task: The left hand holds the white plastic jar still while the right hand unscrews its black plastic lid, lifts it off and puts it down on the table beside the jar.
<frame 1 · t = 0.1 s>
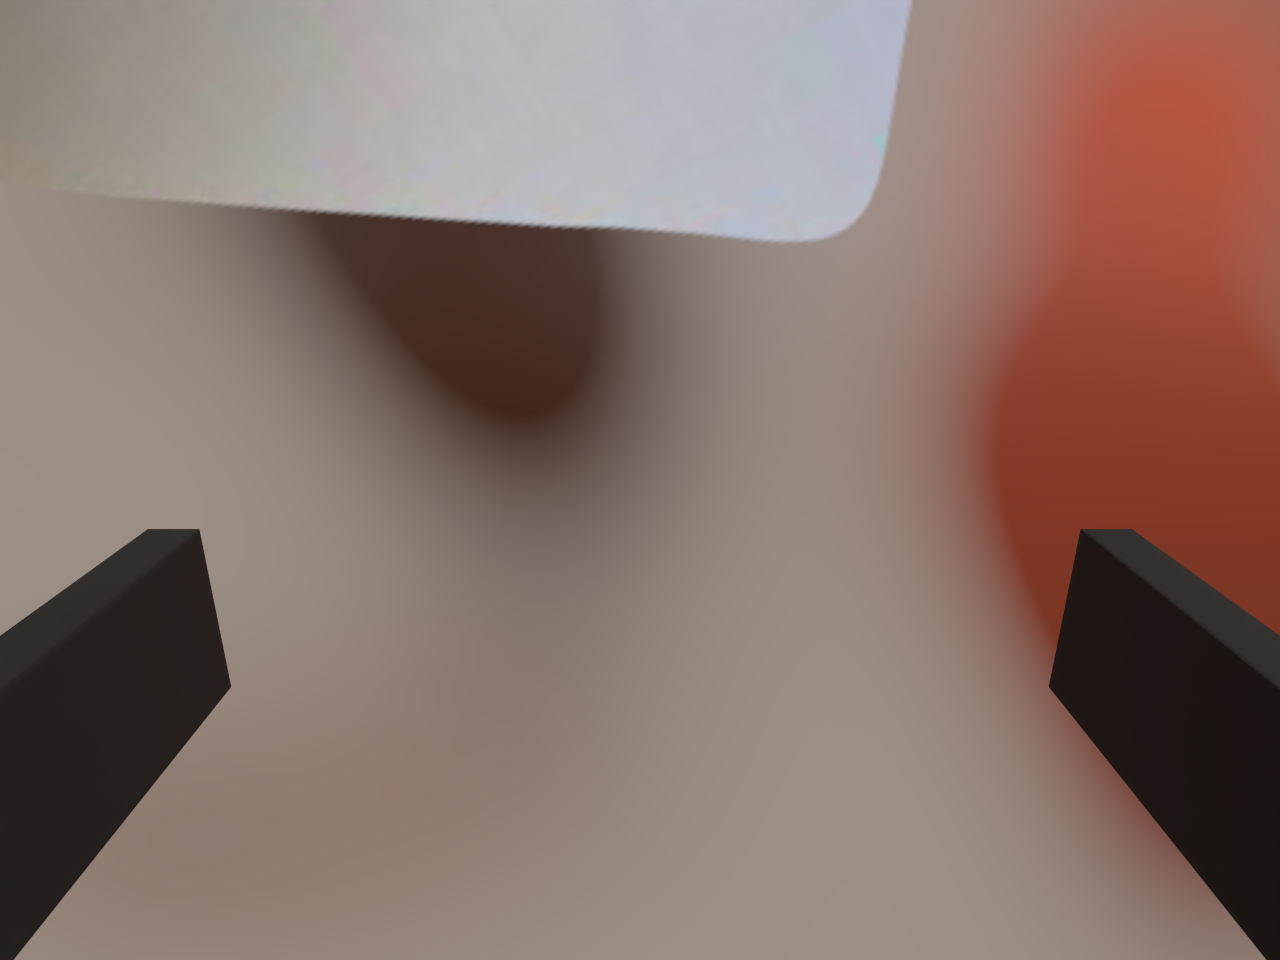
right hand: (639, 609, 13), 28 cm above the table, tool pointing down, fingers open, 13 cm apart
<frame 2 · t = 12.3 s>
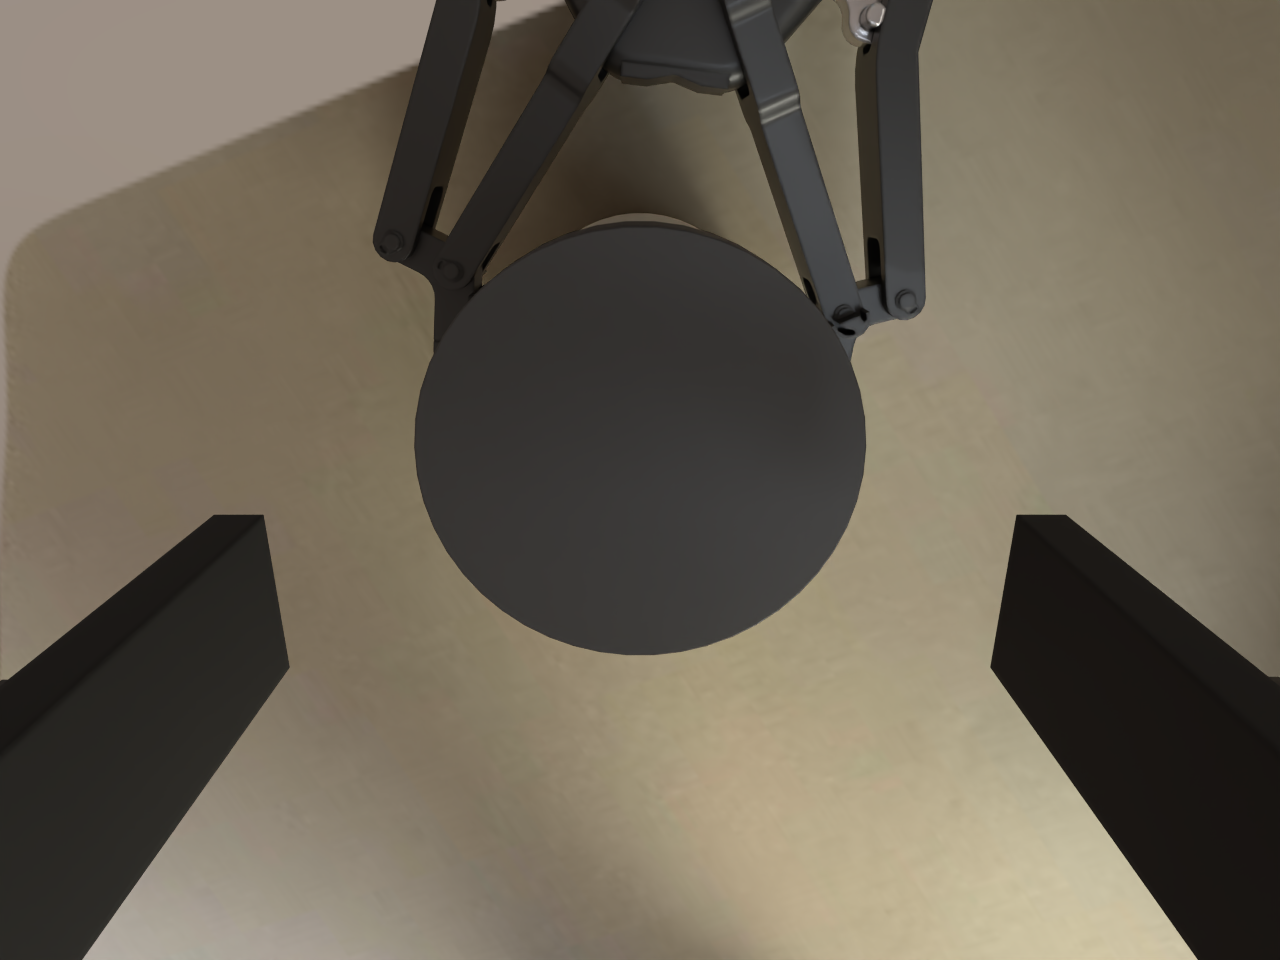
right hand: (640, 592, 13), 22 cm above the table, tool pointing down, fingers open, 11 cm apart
left hand: (626, 495, 29), fingers closed on jar, 10 cm apart
lid: (640, 456, 19), point 15 cm above the table, screwed on, not yet turned
jar: (640, 336, 34), on the table, touching left hand
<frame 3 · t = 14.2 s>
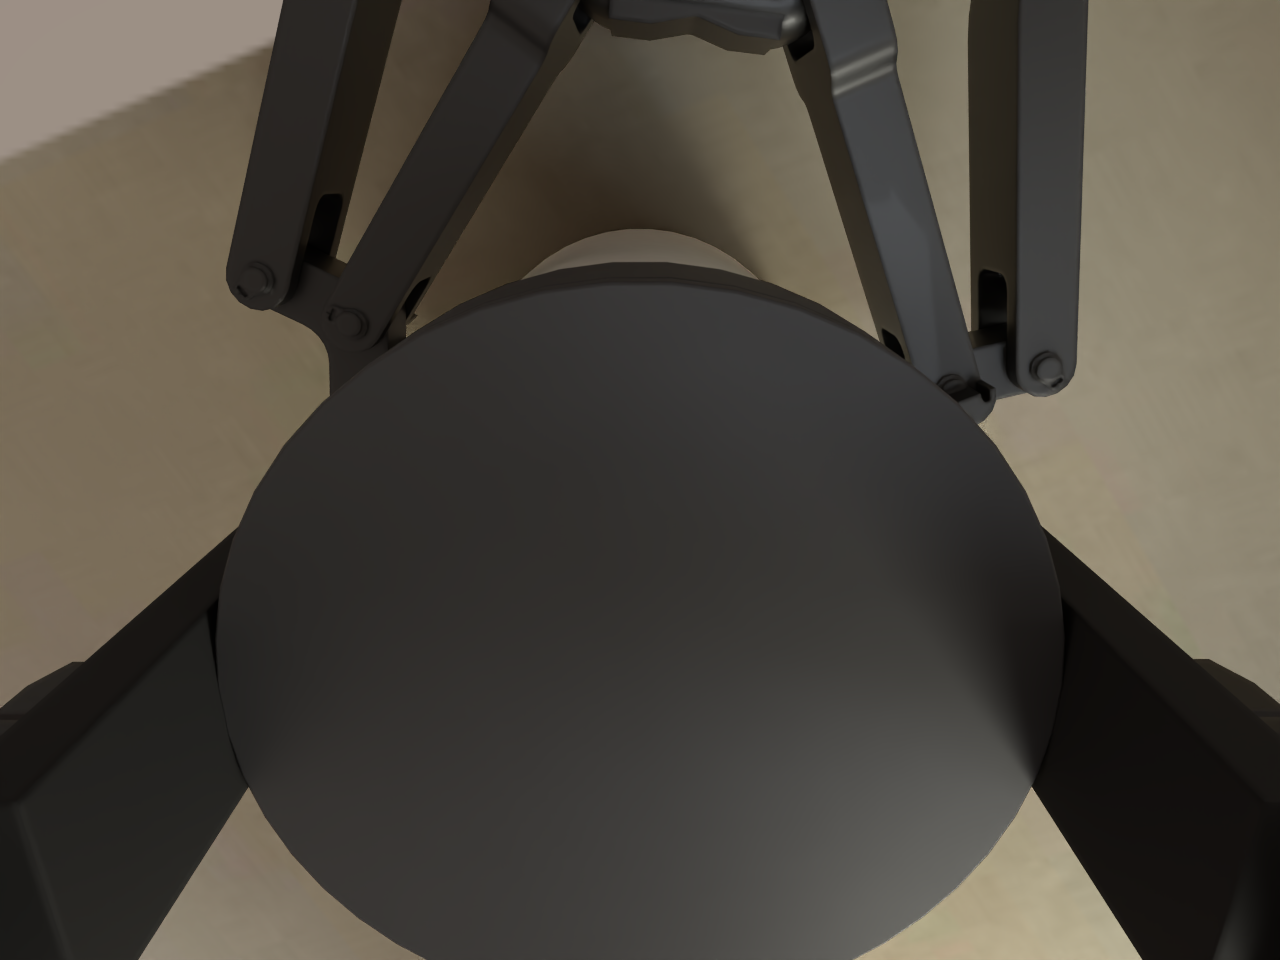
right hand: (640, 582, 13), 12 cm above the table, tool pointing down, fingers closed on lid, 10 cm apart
left hand: (620, 635, 20), fingers closed on jar, 10 cm apart
lid: (639, 693, 11), point 15 cm above the table, screwed on, not yet turned, touching right hand
jar: (640, 394, 25), on the table, touching left hand
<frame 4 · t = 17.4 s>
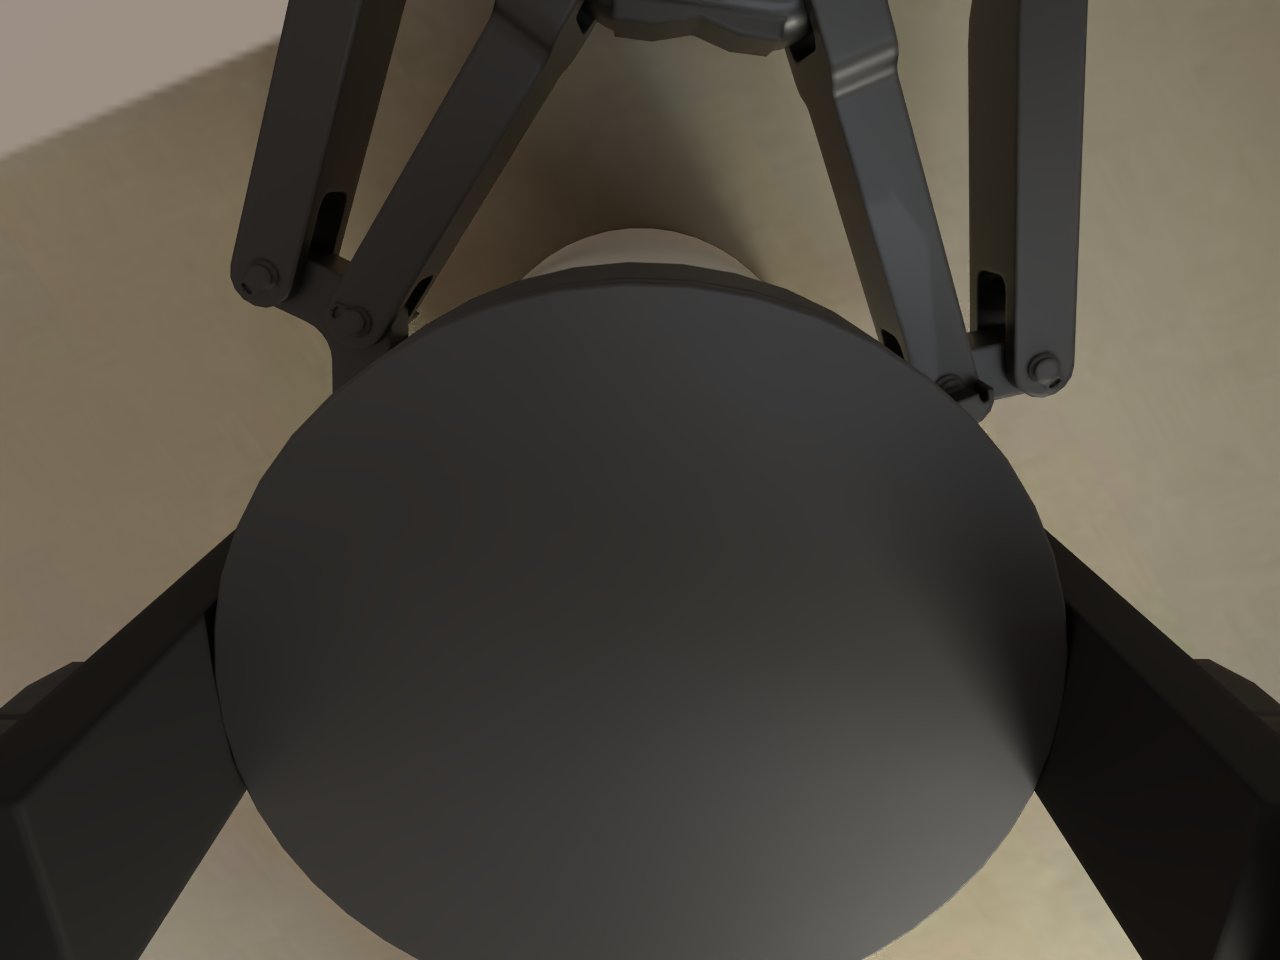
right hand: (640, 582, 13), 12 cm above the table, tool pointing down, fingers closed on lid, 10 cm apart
left hand: (619, 632, 20), fingers closed on jar, 10 cm apart
lid: (640, 696, 10), point 15 cm above the table, turned 103° so far, risen 0.2 cm, still on its thread, touching right hand
jar: (640, 392, 25), on the table, touching left hand
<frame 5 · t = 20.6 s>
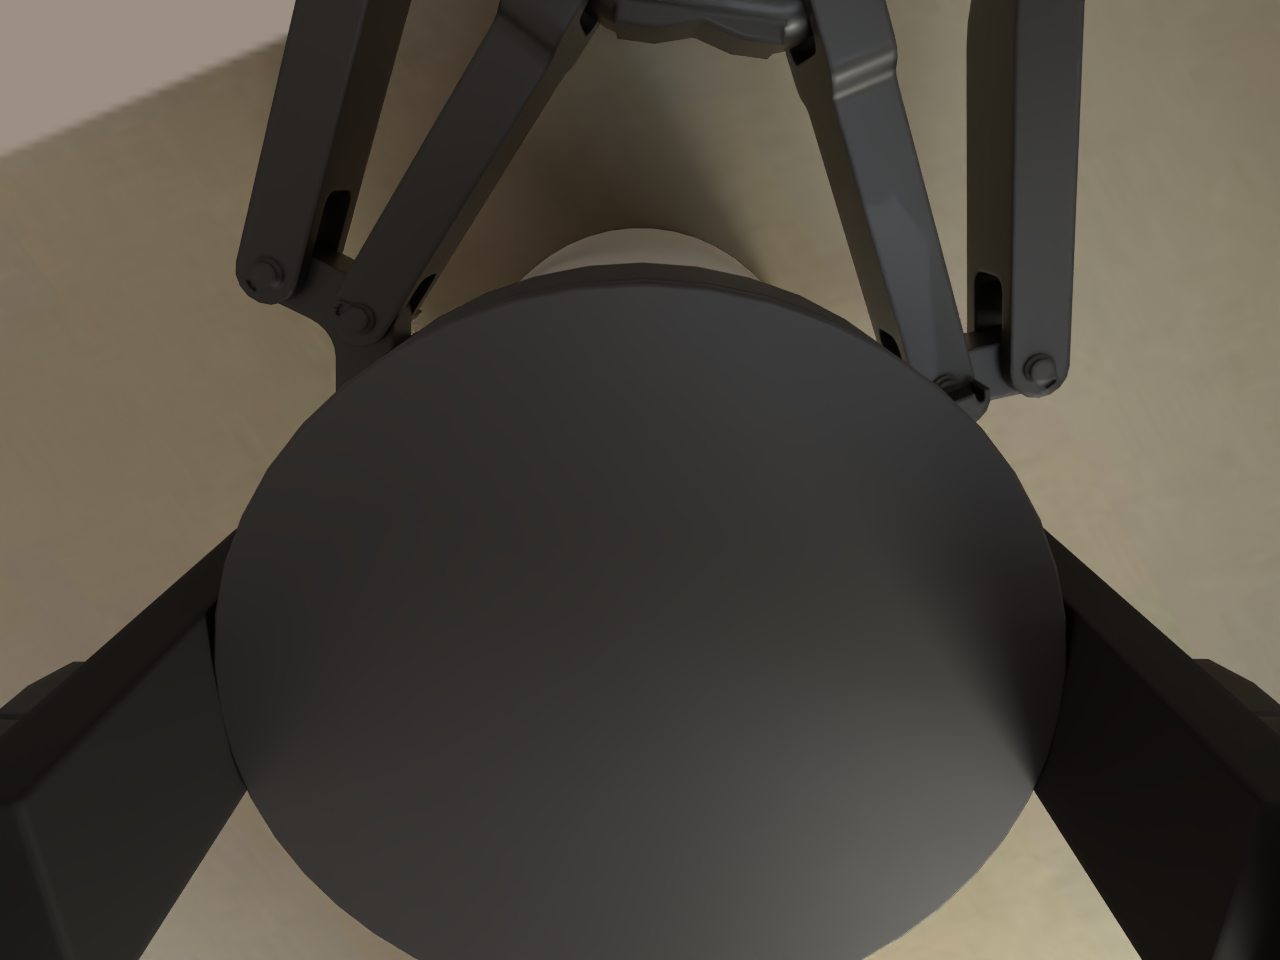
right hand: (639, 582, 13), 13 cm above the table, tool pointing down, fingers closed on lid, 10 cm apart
left hand: (618, 629, 20), fingers closed on jar, 10 cm apart
lid: (640, 696, 10), point 16 cm above the table, turned 206° so far, risen 0.4 cm, still on its thread, touching right hand
jar: (640, 391, 25), on the table, touching left hand
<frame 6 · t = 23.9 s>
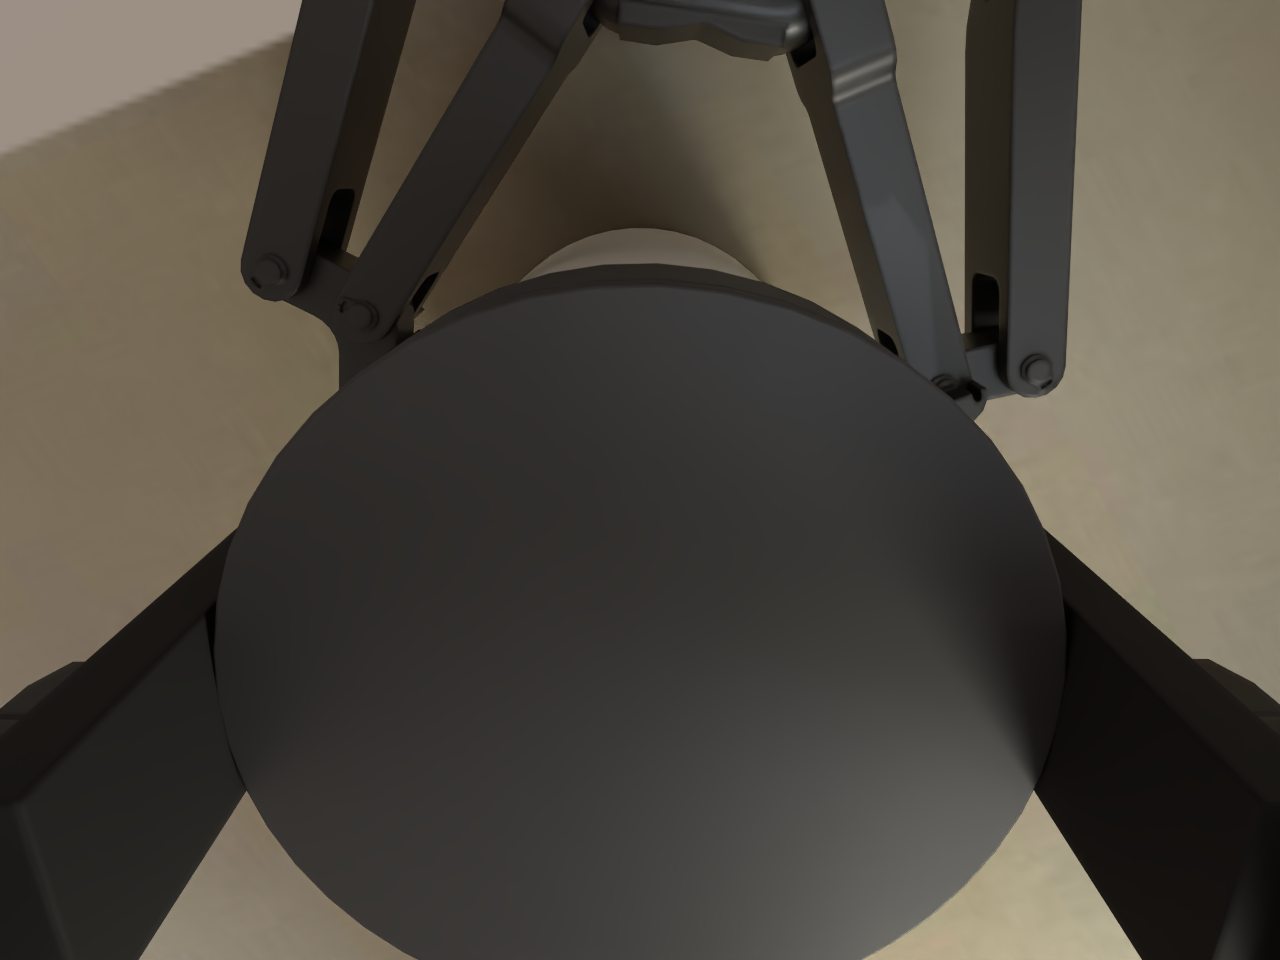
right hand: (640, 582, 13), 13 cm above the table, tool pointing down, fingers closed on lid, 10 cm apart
left hand: (617, 625, 21), fingers closed on jar, 10 cm apart
lid: (640, 696, 10), point 16 cm above the table, turned 310° so far, risen 0.5 cm, still on its thread, touching right hand
jar: (640, 390, 25), on the table, touching left hand
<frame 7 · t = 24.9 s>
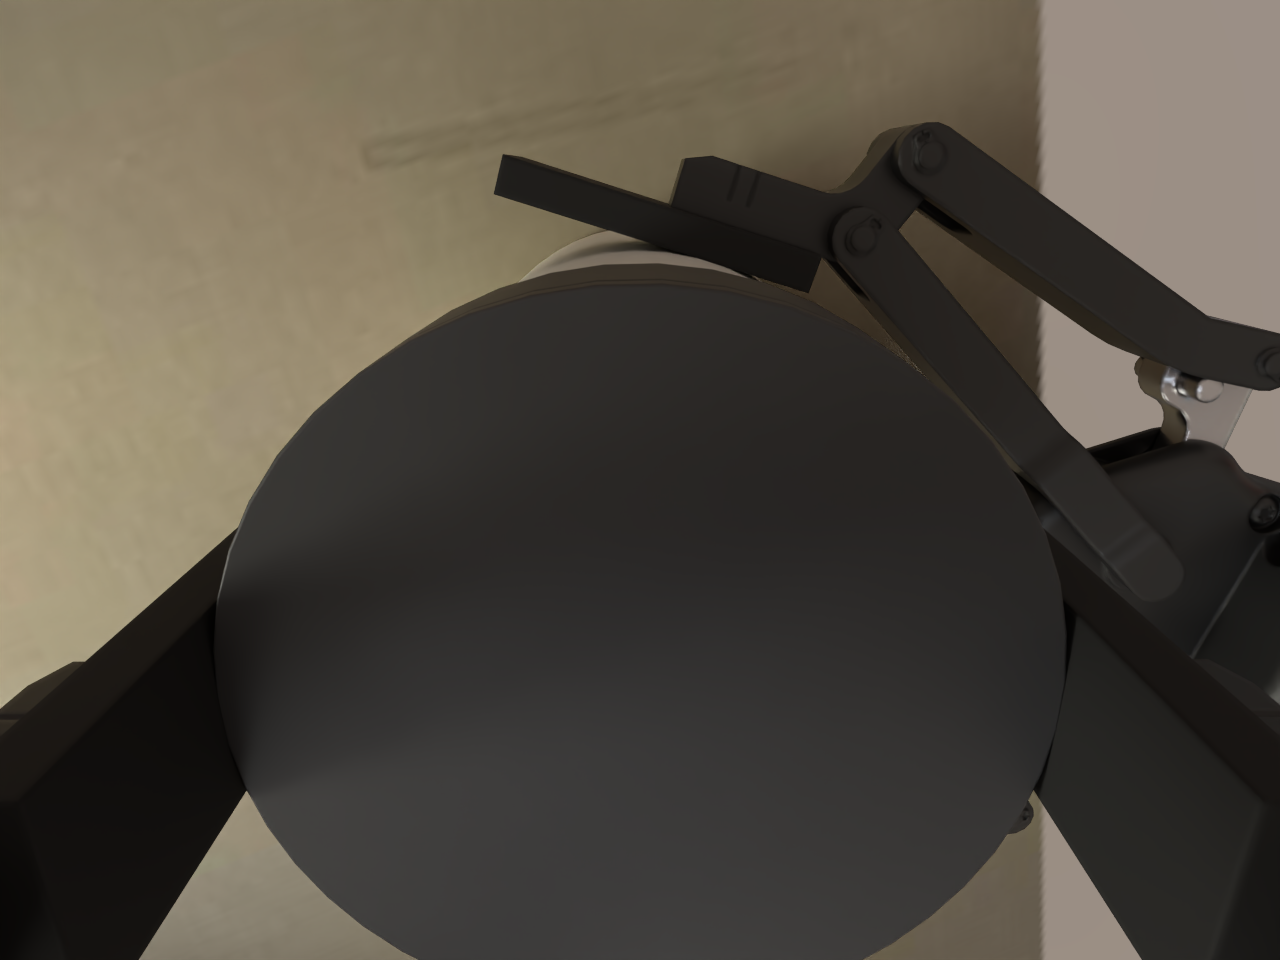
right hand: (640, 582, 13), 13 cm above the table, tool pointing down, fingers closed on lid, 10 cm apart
lid: (640, 696, 10), point 16 cm above the table, off its thread, touching right hand
jar: (640, 388, 25), on the table, touching left hand
when the right hand's fingers open (0 cm above the table, at t = 30.1 s): lid drops 2 cm, point 2 cm above the table.
when the left hand's fingers open (7 cm above the table, at t = 31.8 s): jar stays where it is, on the table.
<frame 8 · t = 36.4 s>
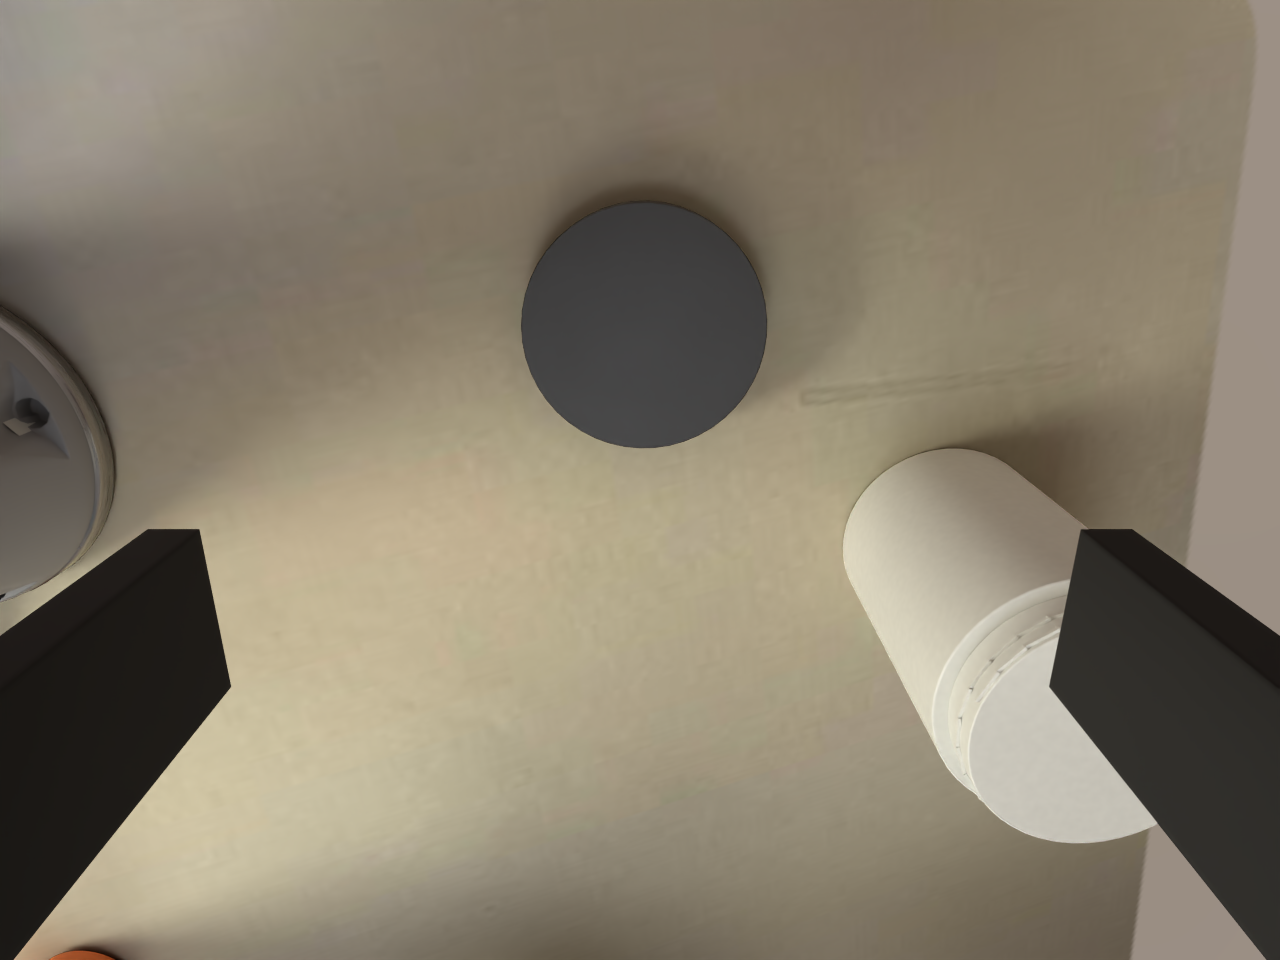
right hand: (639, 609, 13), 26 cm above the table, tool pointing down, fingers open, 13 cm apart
lid: (644, 330, 35), point 2 cm above the table, off its thread
jar: (940, 540, 41), on the table
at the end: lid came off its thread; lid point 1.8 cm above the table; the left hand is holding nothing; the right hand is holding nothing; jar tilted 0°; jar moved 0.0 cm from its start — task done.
